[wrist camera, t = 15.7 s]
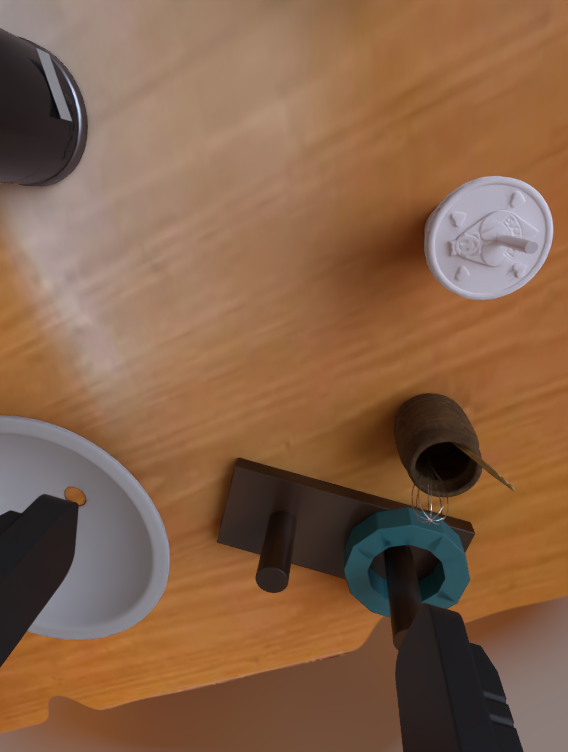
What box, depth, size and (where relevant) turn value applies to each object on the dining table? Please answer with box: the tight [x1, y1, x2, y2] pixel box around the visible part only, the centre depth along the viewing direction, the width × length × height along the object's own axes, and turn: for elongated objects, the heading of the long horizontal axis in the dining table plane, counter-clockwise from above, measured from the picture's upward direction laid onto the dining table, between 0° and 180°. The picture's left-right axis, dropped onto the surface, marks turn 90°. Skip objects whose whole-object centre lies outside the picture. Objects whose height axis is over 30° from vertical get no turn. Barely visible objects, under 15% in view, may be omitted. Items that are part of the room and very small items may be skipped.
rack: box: [217, 458, 475, 650], centre depth 39 cm, size 22×9×10 cm, turn 76°
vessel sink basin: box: [0, 415, 170, 640], centre depth 43 cm, size 24×24×7 cm
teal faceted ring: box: [344, 507, 470, 617], centre depth 41 cm, size 10×10×2 cm
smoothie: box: [424, 176, 553, 300], centre depth 27 cm, size 6×6×14 cm
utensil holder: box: [394, 394, 515, 526], centre depth 33 cm, size 6×6×12 cm
